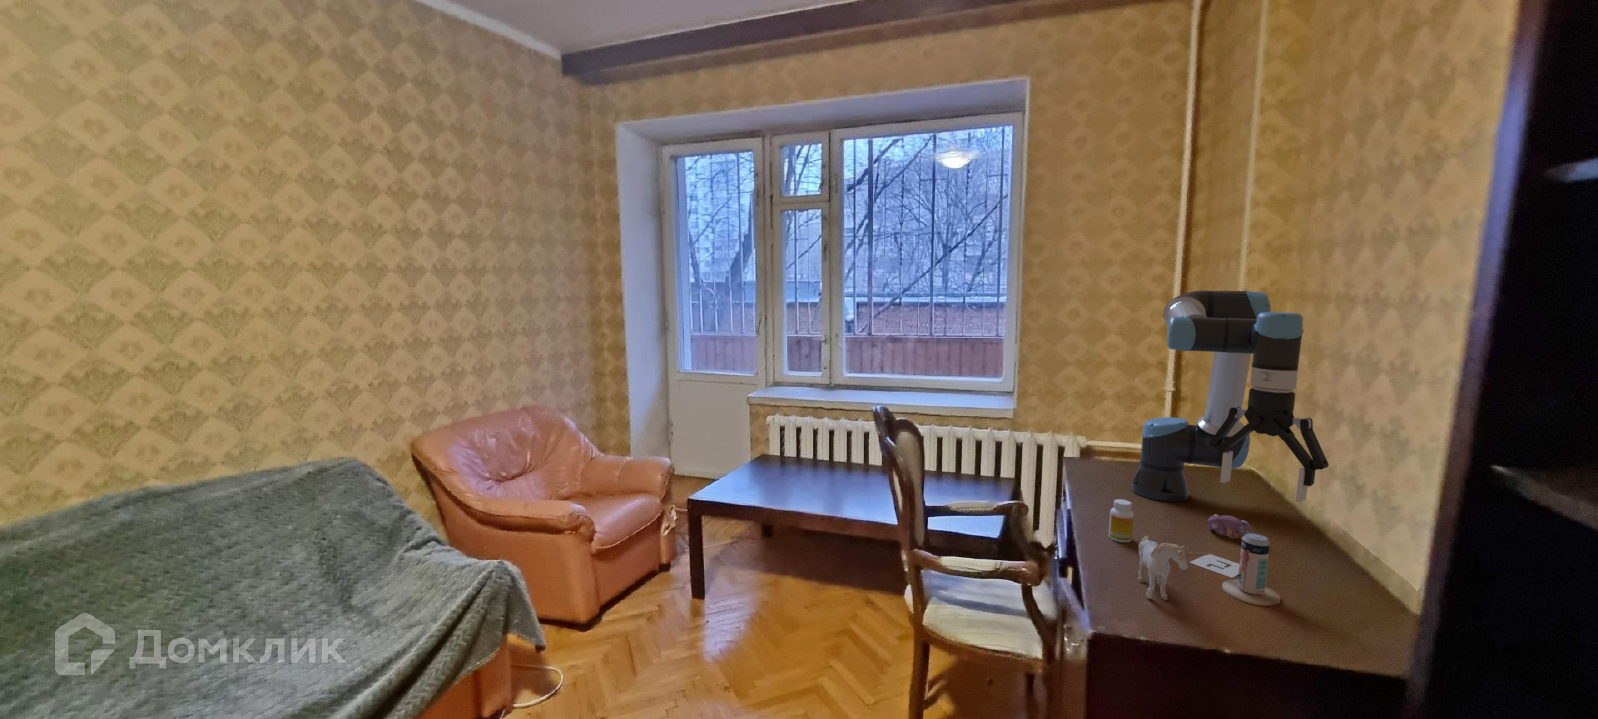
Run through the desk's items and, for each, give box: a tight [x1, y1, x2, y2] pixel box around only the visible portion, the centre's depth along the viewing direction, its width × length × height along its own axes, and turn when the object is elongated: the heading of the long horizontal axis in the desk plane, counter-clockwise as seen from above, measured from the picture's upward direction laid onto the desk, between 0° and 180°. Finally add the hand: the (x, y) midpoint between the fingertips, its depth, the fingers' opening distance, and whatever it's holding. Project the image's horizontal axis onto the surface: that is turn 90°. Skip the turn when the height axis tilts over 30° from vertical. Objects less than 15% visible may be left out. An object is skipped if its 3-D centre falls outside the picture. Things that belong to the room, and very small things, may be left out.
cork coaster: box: [1221, 579, 1281, 607], centre depth 135 cm, size 10×10×1 cm
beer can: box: [1237, 532, 1271, 595], centre depth 134 cm, size 5×5×12 cm
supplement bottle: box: [1108, 498, 1135, 543], centre depth 162 cm, size 5×5×10 cm
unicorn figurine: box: [1137, 535, 1210, 601], centre depth 133 cm, size 7×20×13 cm, turn 2°
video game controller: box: [1206, 513, 1254, 540], centre depth 164 cm, size 10×5×7 cm, turn 48°
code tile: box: [1189, 553, 1239, 579], centre depth 148 cm, size 9×9×1 cm
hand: (1261, 490), depth 132 cm, fingers open, 13 cm apart
